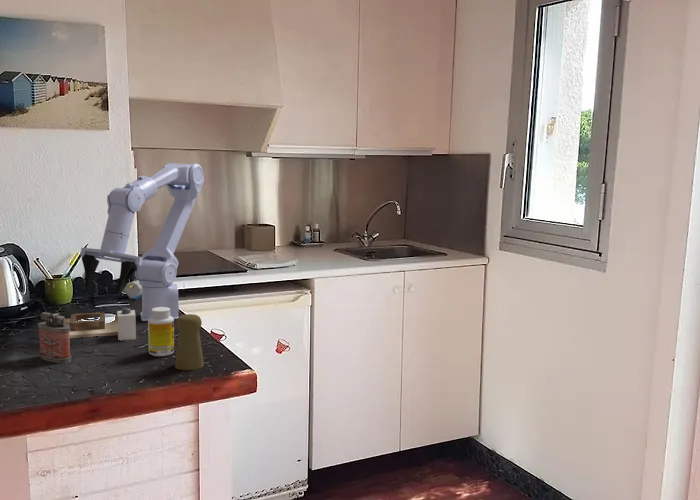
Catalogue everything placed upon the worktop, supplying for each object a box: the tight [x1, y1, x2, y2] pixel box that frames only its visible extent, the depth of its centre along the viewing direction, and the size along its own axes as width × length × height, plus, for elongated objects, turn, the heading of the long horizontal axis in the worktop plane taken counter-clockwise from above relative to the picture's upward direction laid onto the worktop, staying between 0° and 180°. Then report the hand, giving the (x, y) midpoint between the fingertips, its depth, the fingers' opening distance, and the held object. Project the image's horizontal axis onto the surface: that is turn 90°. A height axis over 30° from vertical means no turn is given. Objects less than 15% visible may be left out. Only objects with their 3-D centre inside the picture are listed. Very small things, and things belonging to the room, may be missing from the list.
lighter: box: [37, 311, 72, 364], centre depth 143 cm, size 8×3×10 cm, turn 65°
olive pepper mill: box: [174, 313, 205, 371], centre depth 141 cm, size 6×6×11 cm
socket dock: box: [64, 311, 118, 339], centre depth 167 cm, size 14×16×3 cm
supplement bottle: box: [147, 307, 175, 357], centre depth 149 cm, size 6×6×10 cm
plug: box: [116, 307, 137, 341], centre depth 161 cm, size 4×5×7 cm
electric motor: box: [123, 279, 142, 300], centre depth 200 cm, size 7×5×5 cm
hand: (103, 290), depth 160 cm, fingers open, 7 cm apart
